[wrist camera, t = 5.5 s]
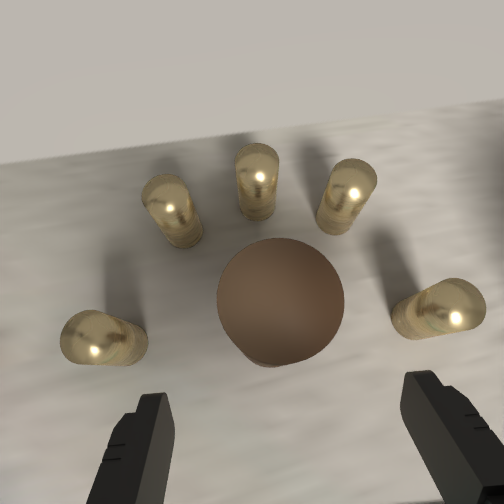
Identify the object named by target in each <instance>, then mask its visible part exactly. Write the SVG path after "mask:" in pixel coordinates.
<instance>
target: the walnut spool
mask: <svg viewBox="0 0 504 504" xmlns="http://www.w3.org/2000/svg"><path fill="white" fill-rule="evenodd" d="M217 309H218V314H219V318H220V321H221V323H222V326H223V328H224V330H225V331H226V333H227V335H228V336H229V338H230V339H231V340H232V341H233V343H234V344H235V345H236V346H237V347H238V348H239V349H240V350H241V351H242V353H243V354H244V355H245V356H246V357H247V358H248V359H249V360H251V361H252V362H253V363H255V364H257V365H260V366H263V367H279V366H283V365H288V364H292V363H297V362H300V361H303V360H306V359H308V358H310V357H312V356H314V355H316V354H317V353H319V352H320V351H321V350H322V349H324V348H325V347H326V346H327V345H328V344H329V343H330V341H331V340H332V339H333V337H334V336H335V334H336V333H337V331H338V329H339V326H340V324H341V321H342V318H343V313H344V292H343V288H342V284H341V281H340V278H339V276H338V274H337V272H336V270H335V269H334V267H333V266H332V264H331V263H330V262H329V261H328V260H327V259H326V257H325V256H324V255H322V254H321V253H320V252H319V251H317V250H316V249H314V248H313V247H311V246H309V245H307V244H305V243H303V242H300V241H297V240H292V239H286V238H272V239H265V240H262V241H258V242H256V243H253V244H251V245H249V246H247V247H246V248H244V249H243V250H241V251H240V252H239V253H237V254H236V255H235V256H234V257H233V258H232V260H231V261H230V262H229V263H228V265H227V266H226V268H225V270H224V271H223V274H222V276H221V278H220V281H219V285H218V290H217Z"/></svg>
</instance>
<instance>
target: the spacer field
mask: <svg viewBox="0 0 504 504" xmlns="http://www.w3.org/2000/svg"><path fill="white" fill-rule="evenodd" d="M235 169H236V177H237V186H238V194H239V203H240V209H241V212H242V214H243V215H244V216H245V217H246V218H248V219H250V220H253V221H262V220H265V219H267V218H269V217H270V216H271V215H272V213H273V212H274V209H275V201H276V191H277V180H278V170H279V157H278V155H277V153H276V152H275V150H274V149H273V148H271V147H270V146H268V145H265V144H261V143H253V144H249V145H247V146H245V147H243V148H242V149H241V150H240V151H239V152H238V153H237V155H236V158H235ZM376 185H377V175H376V173H375V171H374V169H373V168H372V167H371V166H370V165H369V164H368V163H366V162H365V161H362V160H359V159H345V160H342V161H340V162H339V163H337V164H336V165H335V167H334V168H333V170H332V173H331V175H330V178H329V181H328V184H327V186H326V189H325V192H324V195H323V197H322V200H321V203H320V206H319V208H318V211H317V214H316V221H317V224H318V226H319V228H320V229H321V230H322V231H324V232H325V233H327V234H330V235H341V234H343V233H345V232H347V231H348V230H349V228H350V227H351V225H352V224H353V222H354V221H355V219H356V217H357V216H358V214H359V213H360V211H361V210H362V208H363V206H364V205H365V203H366V202H367V200H368V199H369V197H370V195H371V194H372V192H373V191H374V189H375V187H376ZM142 202H143V204H144V206H145V207H146V209H147V210H148V212H149V213H150V214H151V216H152V217H153V219H154V220H155V222H156V223H157V225H158V226H159V227H160V229H161V230H162V232H163V233H164V235H165V236H166V238H167V239H168V240H169V242H170V243H171V244H172V245H173V246H175V247H178V248H189V247H192V246H194V245H195V244H196V243H197V242H198V241H199V240H200V239H201V236H202V232H203V229H202V225H201V222H200V220H199V217H198V215H197V212H196V210H195V207H194V205H193V202H192V200H191V197H190V194H189V192H188V189H187V187H186V185H185V183H184V182H183V180H182V179H180V178H179V177H177V176H175V175H171V174H163V175H158V176H156V177H154V178H152V179H151V180H150V181H148V182H147V184H146V185H145V186H144V188H143V191H142ZM485 315H486V304H485V300H484V298H483V296H482V294H481V293H480V291H479V290H478V289H477V288H476V287H475V286H474V285H472V284H471V283H469V282H468V281H465V280H463V279H459V278H449V279H445V280H443V281H441V282H439V283H437V284H435V285H433V286H431V287H429V288H427V289H425V290H423V291H421V292H419V293H417V294H415V295H413V296H411V297H409V298H407V299H404V300H402V301H400V302H399V303H397V304H396V305H395V307H394V308H393V310H392V315H391V319H392V323H393V326H394V328H395V329H396V331H397V332H398V333H399V334H400V335H402V336H403V337H405V338H407V339H410V340H420V339H425V338H430V337H435V336H440V335H445V334H450V333H455V332H461V331H466V330H471V329H474V328H476V327H477V326H479V325H480V324H481V323H482V321H483V320H484V318H485ZM60 347H61V350H62V353H63V354H64V356H65V357H66V358H67V359H68V360H69V361H71V362H73V363H76V364H84V365H110V366H130V365H133V364H135V363H137V362H138V361H139V360H140V359H141V358H142V357H143V356H144V354H145V353H146V350H147V347H148V338H147V335H146V333H145V331H144V330H143V329H142V328H141V327H139V326H137V325H134V324H132V323H129V322H126V321H124V320H121V319H118V318H116V317H113V316H110V315H108V314H105V313H102V312H100V311H96V310H86V311H82V312H80V313H78V314H76V315H74V316H73V317H72V318H71V319H70V320H69V321H68V322H67V323H66V324H65V326H64V328H63V330H62V333H61V337H60Z"/></svg>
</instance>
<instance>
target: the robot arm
mask: <svg viewBox="0 0 504 504" xmlns="http://www.w3.org/2000/svg"><path fill="white" fill-rule="evenodd" d="M400 410H401V415H402V418H403V421H404V424H405V426H406V428H407V430H408V432H409V434H410V435H411V437H412V439H413V441H414V443H415V445H416V447H417V449H418V451H419V453H420V455H421V457H422V459H423V461H424V463H425V465H426V467H427V469H428V471H429V473H430V475H431V476H432V478H433V480H434V482H435V484H436V486H437V488H438V490H439V492H440V494H441V496H442V498H443V500H444V502H445V504H504V445H503V444H502V443H501V441H500V440H499V439H498V437H497V436H496V435H495V433H494V432H493V431H492V430H490V428H489V426H488V424H487V423H486V422H485V420H484V419H483V418H482V417H480V415H479V412H478V411H477V410H476V408H475V407H474V406H473V405H472V403H471V402H470V401H469V399H468V398H467V397H465V396H464V395H463V394H462V393H460V392H459V391H458V390H456V389H455V388H454V387H452V386H443V385H442V383H441V382H440V380H439V379H438V378H437V376H436V375H435V373H434V372H432V371H431V370H425V371H414V372H407V373H406V374H405V378H404V384H403V390H402V396H401V402H400ZM174 439H175V427H174V421H173V417H172V413H171V409H170V405H169V401H168V397H167V394H166V393H165V392H164V393H152V394H143V395H142V396H141V398H140V400H139V403H138V406H137V409H136V412H135V413H125V414H124V416H123V417H122V418H121V420H120V421H119V422H118V423H117V425H116V426H115V427H114V429H113V431H112V434H111V437H110V440H109V442H108V445H107V446H108V447H107V449H106V450H105V453H104V456H103V459H102V463H101V464H100V467H99V470H98V472H97V475H96V478H95V480H94V483H93V486H92V489H91V491H90V494H89V497H88V499H87V502H86V504H163V502H164V497H165V491H166V485H167V480H168V474H169V469H170V463H171V457H172V452H173V446H174Z"/></svg>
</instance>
